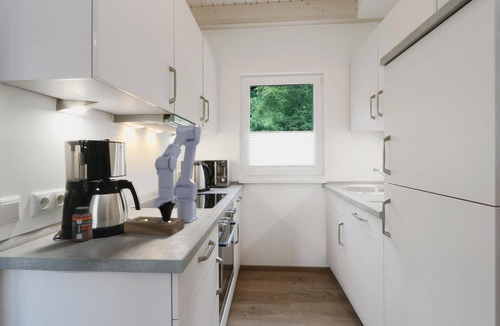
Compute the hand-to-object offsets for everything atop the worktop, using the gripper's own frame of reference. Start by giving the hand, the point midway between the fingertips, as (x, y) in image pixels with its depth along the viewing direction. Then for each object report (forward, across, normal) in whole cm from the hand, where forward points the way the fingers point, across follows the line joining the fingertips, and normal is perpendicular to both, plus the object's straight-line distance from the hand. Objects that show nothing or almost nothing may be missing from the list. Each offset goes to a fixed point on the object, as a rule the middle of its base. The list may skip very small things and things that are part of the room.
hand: (166, 221), depth 102 cm
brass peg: (+4, 0, -10) cm, 11 cm away
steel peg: (+4, 0, 0) cm, 4 cm away
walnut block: (+4, 0, -5) cm, 6 cm away
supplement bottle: (+4, +15, -24) cm, 29 cm away
